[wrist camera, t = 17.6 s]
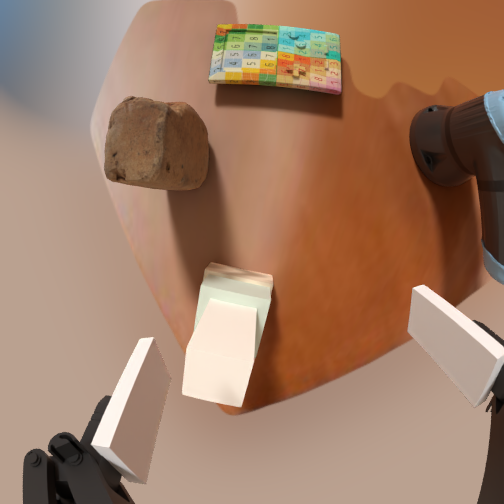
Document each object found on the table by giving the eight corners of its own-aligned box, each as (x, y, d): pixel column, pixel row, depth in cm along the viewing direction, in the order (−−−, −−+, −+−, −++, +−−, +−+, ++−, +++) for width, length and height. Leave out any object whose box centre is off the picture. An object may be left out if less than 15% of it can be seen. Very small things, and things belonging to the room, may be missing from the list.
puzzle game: (343, 90, 33) (207, 78, 34) (335, 100, 38) (212, 89, 38) (340, 32, 31) (216, 21, 31) (334, 45, 36) (220, 35, 36)
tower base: (272, 274, 44) (273, 284, 39) (258, 329, 46) (258, 343, 41) (210, 261, 44) (204, 269, 39) (201, 316, 46) (195, 329, 41)
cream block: (256, 308, 34) (253, 361, 23) (247, 347, 36) (241, 407, 24) (210, 298, 34) (186, 347, 23) (203, 337, 36) (181, 394, 24)
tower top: (269, 287, 39) (270, 300, 34) (256, 340, 41) (255, 358, 36) (208, 274, 39) (200, 284, 34) (199, 328, 41) (192, 344, 36)
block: (206, 193, 41) (160, 190, 22) (161, 189, 41) (90, 186, 22) (215, 126, 39) (180, 73, 20) (170, 124, 39) (110, 79, 20)
